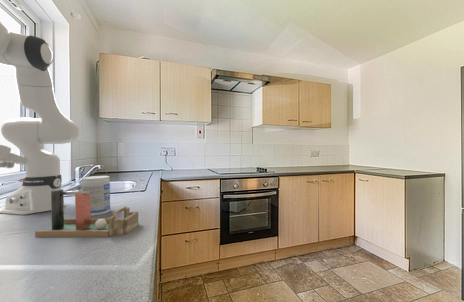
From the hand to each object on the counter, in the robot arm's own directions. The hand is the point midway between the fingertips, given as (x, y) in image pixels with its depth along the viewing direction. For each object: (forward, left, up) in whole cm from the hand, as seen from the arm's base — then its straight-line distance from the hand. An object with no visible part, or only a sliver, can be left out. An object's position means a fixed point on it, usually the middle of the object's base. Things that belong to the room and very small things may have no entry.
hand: (19, 163), depth 59 cm
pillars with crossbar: (+8, +8, -21) cm, 24 cm away
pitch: (+12, +8, -22) cm, 26 cm away
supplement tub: (+4, +26, -22) cm, 34 cm away
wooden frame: (+25, +8, -22) cm, 34 cm away
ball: (+17, +8, -21) cm, 28 cm away
